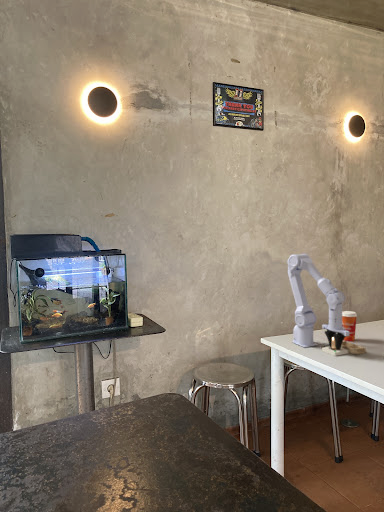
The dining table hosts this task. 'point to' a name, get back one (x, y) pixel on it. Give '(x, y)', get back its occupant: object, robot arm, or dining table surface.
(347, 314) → the paper cup
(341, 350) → the white square frame
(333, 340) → the battery cell
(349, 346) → the wooden trough
